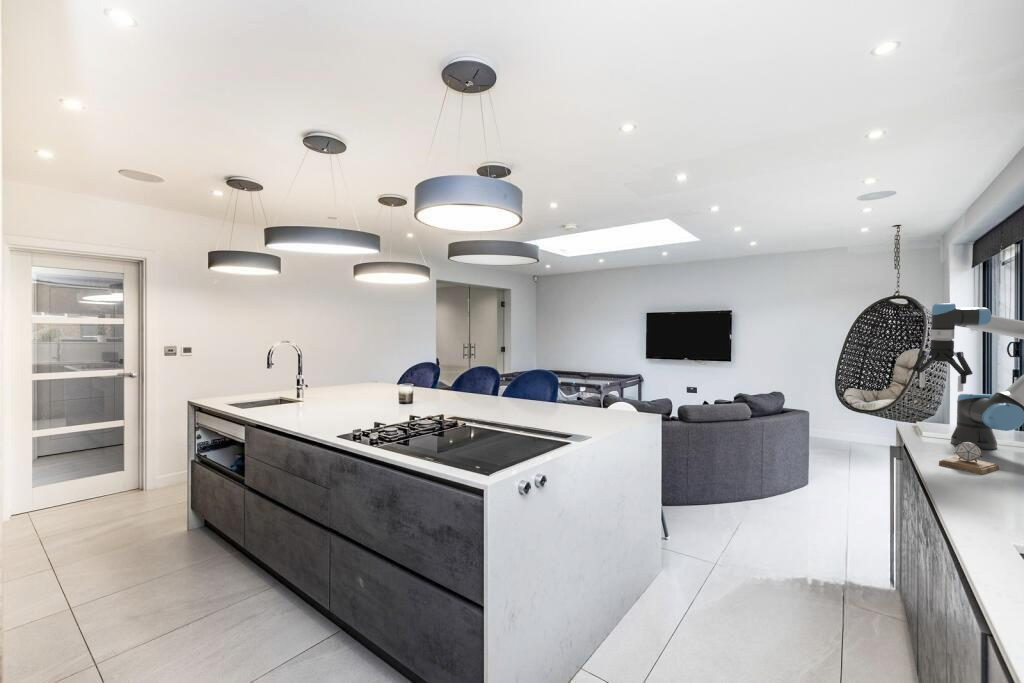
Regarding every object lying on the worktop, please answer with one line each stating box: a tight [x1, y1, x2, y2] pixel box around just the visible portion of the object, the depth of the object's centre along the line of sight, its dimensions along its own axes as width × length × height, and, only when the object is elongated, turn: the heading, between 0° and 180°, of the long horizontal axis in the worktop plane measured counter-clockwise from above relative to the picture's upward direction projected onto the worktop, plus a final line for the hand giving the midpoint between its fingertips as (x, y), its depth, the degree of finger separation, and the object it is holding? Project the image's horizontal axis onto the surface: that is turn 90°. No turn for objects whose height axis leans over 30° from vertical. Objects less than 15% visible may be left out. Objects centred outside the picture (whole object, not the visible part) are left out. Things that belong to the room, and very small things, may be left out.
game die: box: [953, 440, 984, 463], centre depth 192 cm, size 9×8×10 cm
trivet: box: [938, 455, 1000, 475], centre depth 192 cm, size 13×13×2 cm
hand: (940, 389), depth 212 cm, fingers open, 13 cm apart
